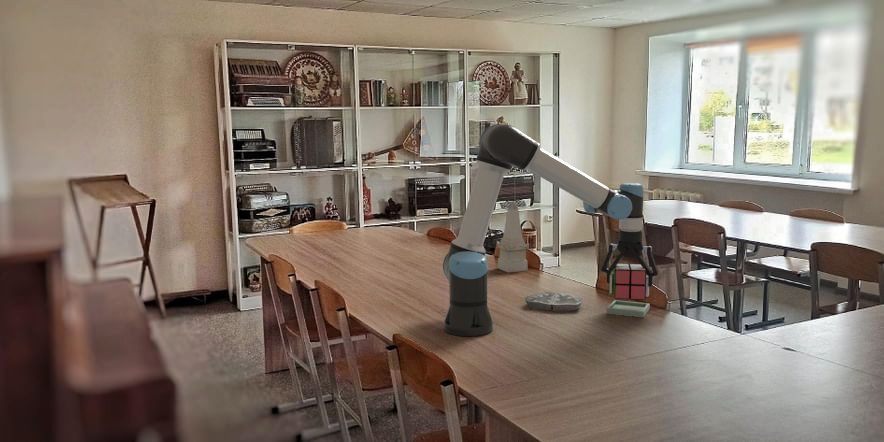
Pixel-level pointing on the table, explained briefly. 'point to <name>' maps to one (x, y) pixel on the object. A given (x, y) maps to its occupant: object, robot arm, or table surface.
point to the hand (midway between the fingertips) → (629, 294)
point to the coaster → (628, 308)
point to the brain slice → (553, 301)
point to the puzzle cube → (629, 282)
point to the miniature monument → (512, 244)
